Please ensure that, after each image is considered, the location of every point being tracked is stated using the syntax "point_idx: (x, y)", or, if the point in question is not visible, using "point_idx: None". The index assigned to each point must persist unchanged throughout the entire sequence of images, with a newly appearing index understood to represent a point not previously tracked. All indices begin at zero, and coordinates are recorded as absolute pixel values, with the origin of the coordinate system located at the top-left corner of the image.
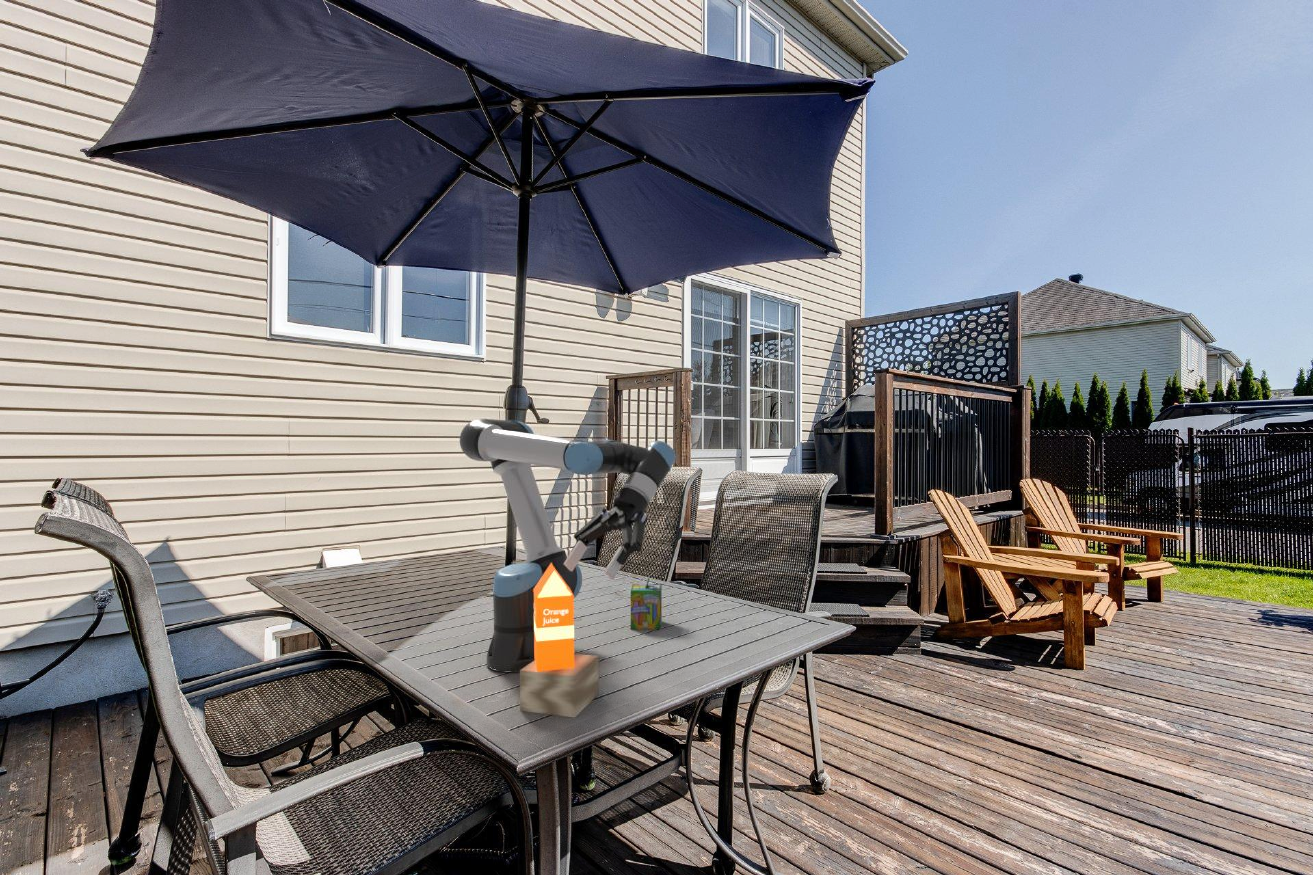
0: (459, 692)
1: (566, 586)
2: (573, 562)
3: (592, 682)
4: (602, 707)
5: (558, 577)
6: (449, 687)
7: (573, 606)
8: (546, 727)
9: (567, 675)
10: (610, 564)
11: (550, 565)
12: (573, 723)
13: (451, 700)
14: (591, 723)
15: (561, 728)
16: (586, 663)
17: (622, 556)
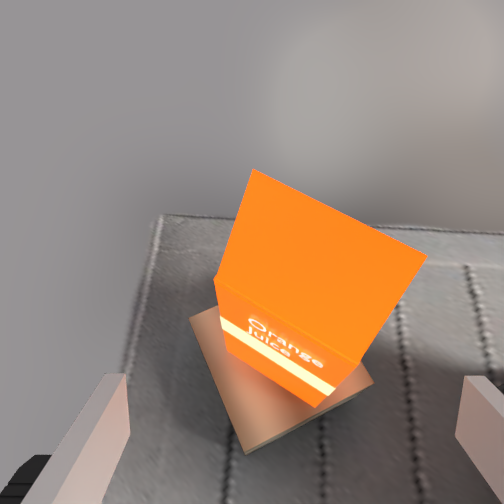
0: (444, 273)
1: (245, 258)
2: (482, 443)
3: (229, 417)
4: (187, 409)
5: (258, 211)
6: (479, 273)
7: (217, 294)
8: (208, 290)
9: (203, 311)
10: (90, 403)
11: (397, 241)
12: (183, 327)
13: (416, 249)
14: (157, 347)
15: (186, 303)
16: (225, 388)
17: (11, 488)
